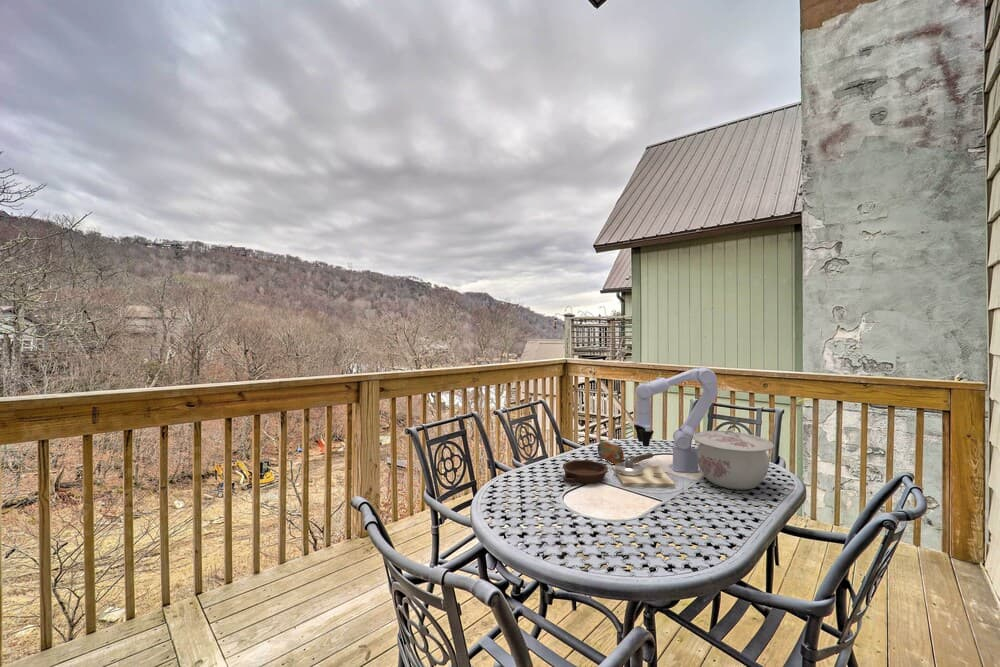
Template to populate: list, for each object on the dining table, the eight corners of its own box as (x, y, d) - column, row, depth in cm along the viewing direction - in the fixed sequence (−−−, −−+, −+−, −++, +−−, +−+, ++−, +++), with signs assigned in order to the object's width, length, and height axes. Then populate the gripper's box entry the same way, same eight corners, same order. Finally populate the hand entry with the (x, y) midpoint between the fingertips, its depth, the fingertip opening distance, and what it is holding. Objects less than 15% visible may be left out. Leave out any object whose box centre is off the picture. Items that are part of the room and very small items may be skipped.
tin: (597, 457, 197) (597, 439, 197) (602, 456, 199) (602, 438, 198) (619, 467, 184) (619, 447, 183) (625, 466, 185) (625, 447, 185)
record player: (658, 469, 181) (658, 465, 181) (674, 487, 161) (674, 483, 161) (612, 469, 182) (612, 465, 182) (623, 486, 162) (623, 482, 162)
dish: (619, 477, 172) (619, 465, 172) (586, 492, 157) (586, 479, 157) (583, 467, 185) (584, 455, 185) (549, 480, 170) (549, 467, 170)
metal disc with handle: (630, 477, 166) (630, 464, 166) (608, 469, 176) (609, 456, 176) (663, 468, 177) (663, 456, 176) (641, 461, 186) (641, 449, 186)
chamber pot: (771, 504, 146) (771, 443, 146) (684, 486, 162) (685, 431, 162) (776, 479, 169) (776, 427, 168) (700, 466, 185) (700, 418, 184)
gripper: (629, 408, 193) (629, 439, 193) (638, 416, 178) (638, 448, 179) (646, 409, 192) (645, 439, 193) (655, 416, 178) (655, 448, 178)
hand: (643, 443), depth 186 cm, fingers open, 7 cm apart
